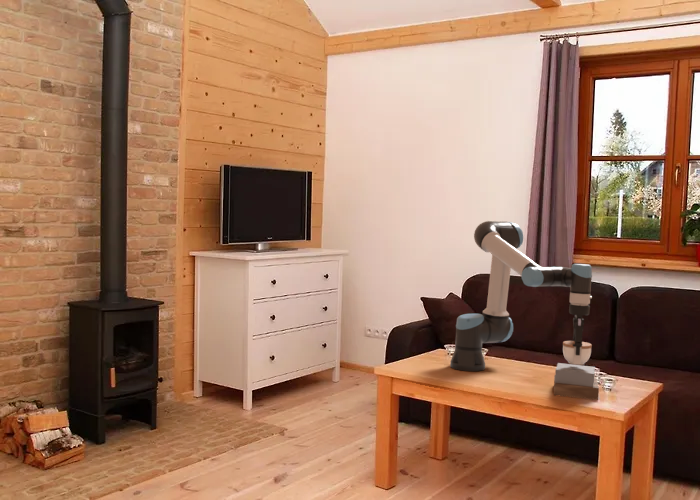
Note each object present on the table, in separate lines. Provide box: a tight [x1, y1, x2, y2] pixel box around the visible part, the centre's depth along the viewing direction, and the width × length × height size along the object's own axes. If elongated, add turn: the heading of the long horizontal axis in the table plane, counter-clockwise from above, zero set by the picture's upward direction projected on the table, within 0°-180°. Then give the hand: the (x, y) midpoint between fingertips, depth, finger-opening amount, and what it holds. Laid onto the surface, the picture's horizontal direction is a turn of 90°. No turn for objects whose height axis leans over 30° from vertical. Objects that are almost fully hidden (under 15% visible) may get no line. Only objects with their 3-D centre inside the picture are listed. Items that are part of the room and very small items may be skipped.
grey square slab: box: [554, 362, 596, 387], centre depth 287 cm, size 14×14×5 cm
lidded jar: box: [562, 340, 593, 366], centre depth 286 cm, size 11×11×9 cm
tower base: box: [553, 375, 600, 401], centre depth 286 cm, size 16×16×5 cm
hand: (576, 360), depth 286 cm, fingers closed on lidded jar, 11 cm apart
